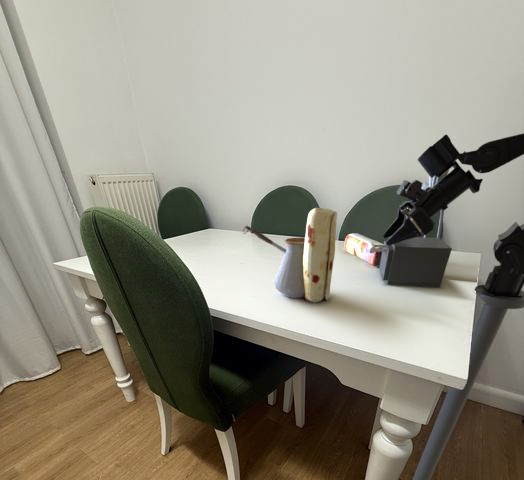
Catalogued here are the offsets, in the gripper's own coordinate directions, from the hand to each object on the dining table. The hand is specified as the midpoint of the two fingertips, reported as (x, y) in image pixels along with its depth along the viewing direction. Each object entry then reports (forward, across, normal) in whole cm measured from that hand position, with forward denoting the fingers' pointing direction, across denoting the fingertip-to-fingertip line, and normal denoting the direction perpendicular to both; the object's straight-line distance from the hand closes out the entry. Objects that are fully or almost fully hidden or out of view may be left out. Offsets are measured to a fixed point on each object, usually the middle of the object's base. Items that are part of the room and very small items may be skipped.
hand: (385, 240), depth 78 cm
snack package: (+9, -20, +5) cm, 23 cm away
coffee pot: (+26, +15, -11) cm, 32 cm away
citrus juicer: (-3, -17, +17) cm, 24 cm away
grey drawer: (+3, 0, +9) cm, 10 cm away
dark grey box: (+1, 0, +13) cm, 13 cm away
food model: (+18, +20, -4) cm, 28 cm away
